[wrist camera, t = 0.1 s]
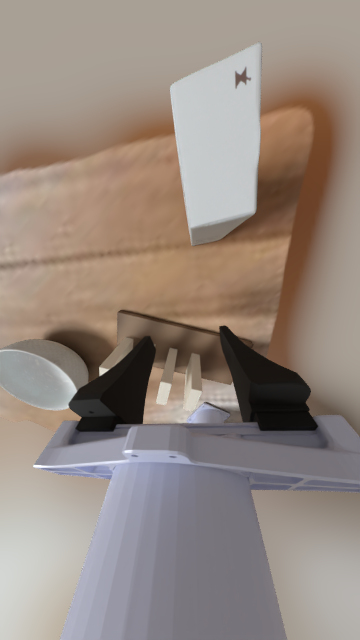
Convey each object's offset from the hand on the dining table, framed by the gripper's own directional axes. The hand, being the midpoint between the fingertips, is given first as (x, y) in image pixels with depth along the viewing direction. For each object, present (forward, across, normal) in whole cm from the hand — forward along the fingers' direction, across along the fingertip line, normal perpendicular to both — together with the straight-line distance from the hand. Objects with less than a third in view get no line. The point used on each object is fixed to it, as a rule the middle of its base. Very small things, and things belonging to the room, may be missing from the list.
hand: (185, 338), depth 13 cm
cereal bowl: (+9, +31, +10) cm, 34 cm away
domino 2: (+8, +5, +11) cm, 15 cm away
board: (+9, +3, +10) cm, 14 cm away
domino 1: (+8, +14, +8) cm, 18 cm away
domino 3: (+8, +1, +13) cm, 15 cm away
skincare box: (+12, -4, -10) cm, 17 cm away
